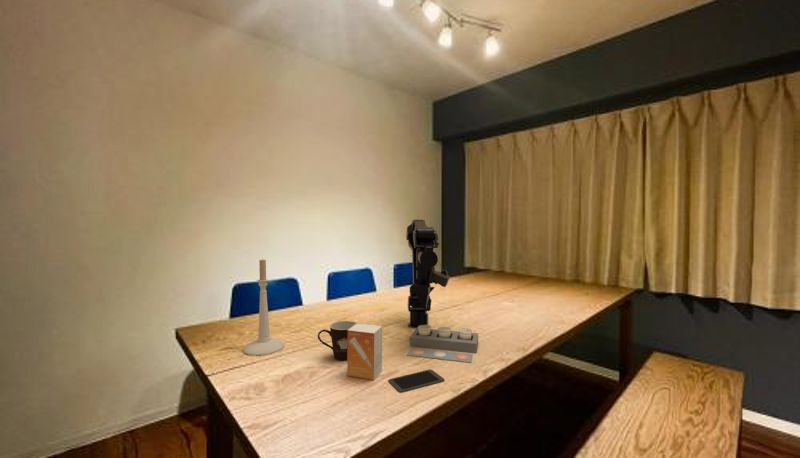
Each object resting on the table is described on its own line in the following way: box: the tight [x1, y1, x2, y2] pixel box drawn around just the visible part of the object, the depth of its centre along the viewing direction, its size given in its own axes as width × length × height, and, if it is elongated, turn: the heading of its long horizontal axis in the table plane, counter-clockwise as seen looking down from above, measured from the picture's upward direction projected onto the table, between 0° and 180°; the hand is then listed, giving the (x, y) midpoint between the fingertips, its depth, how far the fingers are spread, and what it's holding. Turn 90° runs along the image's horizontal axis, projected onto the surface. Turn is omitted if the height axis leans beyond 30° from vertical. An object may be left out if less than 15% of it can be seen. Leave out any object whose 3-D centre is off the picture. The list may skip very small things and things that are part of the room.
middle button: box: [437, 326, 452, 338], centre depth 120 cm, size 4×4×3 cm
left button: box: [417, 324, 432, 336], centre depth 121 cm, size 4×4×3 cm
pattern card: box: [406, 347, 473, 364], centre depth 110 cm, size 20×6×1 cm, turn 74°
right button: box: [458, 327, 473, 340], centre depth 118 cm, size 4×4×3 cm
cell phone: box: [387, 368, 445, 394], centre depth 93 cm, size 7×14×1 cm, turn 117°
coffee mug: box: [317, 320, 358, 362], centre depth 109 cm, size 12×9×10 cm
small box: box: [346, 323, 383, 381], centre depth 97 cm, size 8×6×13 cm
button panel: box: [409, 327, 479, 354], centre depth 120 cm, size 22×10×3 cm, turn 74°
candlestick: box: [242, 259, 286, 356], centre depth 115 cm, size 13×13×30 cm
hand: (424, 308), depth 121 cm, fingers closed
